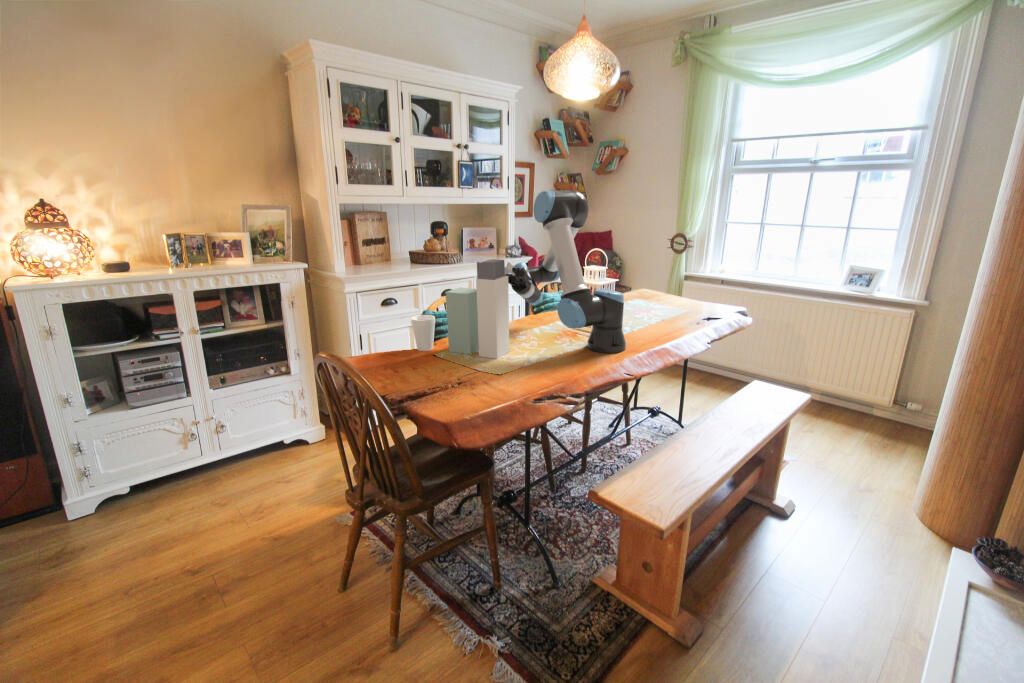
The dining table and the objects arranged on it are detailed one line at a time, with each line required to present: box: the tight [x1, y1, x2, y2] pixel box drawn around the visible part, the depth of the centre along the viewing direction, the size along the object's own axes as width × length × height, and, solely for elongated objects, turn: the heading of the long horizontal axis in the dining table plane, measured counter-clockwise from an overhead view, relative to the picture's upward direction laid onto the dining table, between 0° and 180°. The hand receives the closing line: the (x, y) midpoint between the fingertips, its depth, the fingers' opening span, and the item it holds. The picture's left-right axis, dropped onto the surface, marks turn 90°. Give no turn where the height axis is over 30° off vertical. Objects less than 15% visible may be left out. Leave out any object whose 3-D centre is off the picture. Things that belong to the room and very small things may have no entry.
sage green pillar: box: [445, 287, 479, 355], centre depth 186 cm, size 10×10×24 cm
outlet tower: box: [475, 261, 511, 360], centre depth 179 cm, size 8×10×36 cm
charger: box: [482, 258, 515, 279], centre depth 180 cm, size 5×18×6 cm, turn 153°
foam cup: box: [410, 314, 436, 352], centre depth 190 cm, size 10×9×13 cm
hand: (499, 265), depth 179 cm, fingers open, 6 cm apart
